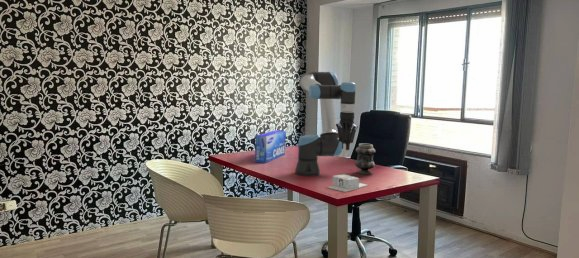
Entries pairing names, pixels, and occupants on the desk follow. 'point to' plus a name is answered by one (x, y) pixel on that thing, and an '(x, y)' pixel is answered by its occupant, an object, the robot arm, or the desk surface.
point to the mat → (346, 188)
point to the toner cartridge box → (270, 146)
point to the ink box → (346, 181)
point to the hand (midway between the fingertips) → (345, 155)
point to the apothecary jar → (365, 158)
